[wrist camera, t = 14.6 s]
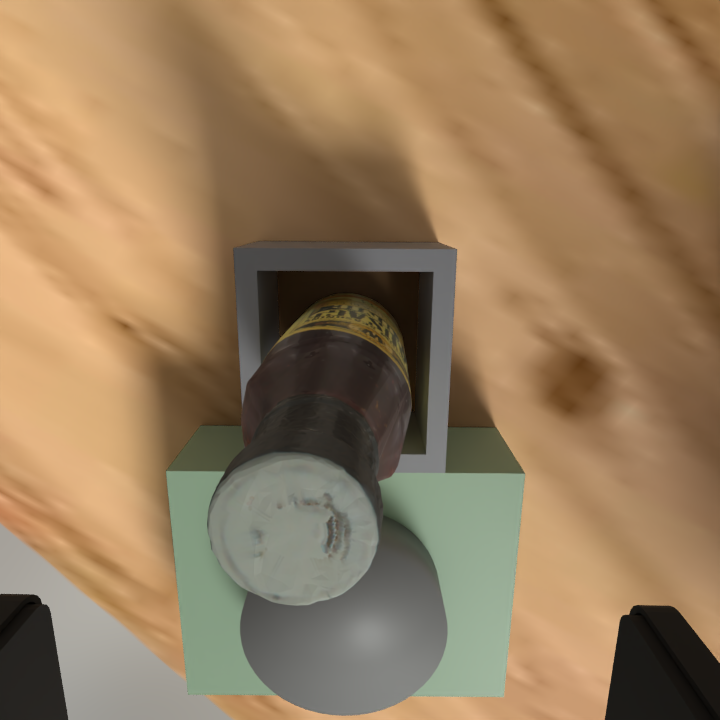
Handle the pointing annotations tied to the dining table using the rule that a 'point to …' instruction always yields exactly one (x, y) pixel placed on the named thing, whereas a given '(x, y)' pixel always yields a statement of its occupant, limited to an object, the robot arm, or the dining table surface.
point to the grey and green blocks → (398, 530)
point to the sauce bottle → (314, 455)
